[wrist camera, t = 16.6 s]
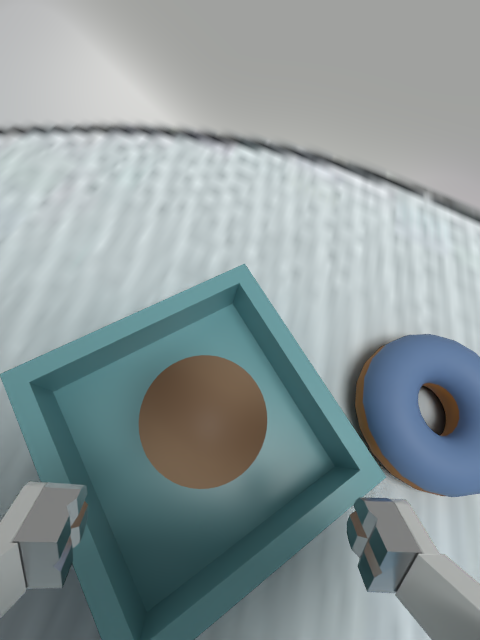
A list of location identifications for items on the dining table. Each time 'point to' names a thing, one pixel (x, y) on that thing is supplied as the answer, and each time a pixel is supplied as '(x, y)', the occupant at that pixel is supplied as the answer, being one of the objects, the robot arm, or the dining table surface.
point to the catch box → (170, 498)
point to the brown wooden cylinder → (202, 422)
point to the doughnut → (405, 418)
